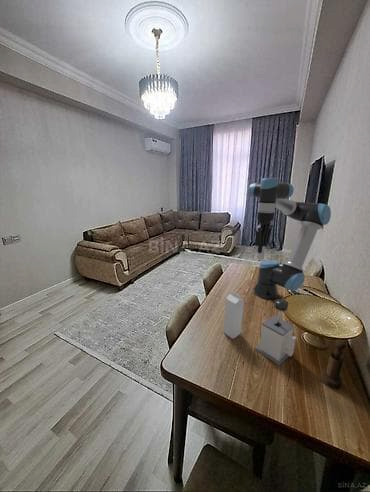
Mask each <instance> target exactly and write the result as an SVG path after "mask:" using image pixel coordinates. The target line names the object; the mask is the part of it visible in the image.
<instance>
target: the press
mask: <svg viewBox="0 0 370 492" xmlns="http://www.w3.org/2000/svg"><path fill="white" fill-rule="evenodd" d="M277 319H278V316H275V315H271V317H269V318H268V319H266V320H265V321H264V322H262V323H261V324H262V325H261V332H260V339H259V345H258V346H256V347H255V351H257V352H258V353H260V354H261V355H263V356H264V357H266V358H267V359H269V360H270V361H271V362H273V363H274V364H276V365H278V366H279V367H280V366H281V365H282V364H283V363H284V362H285V361H286V360H287V359H288V358H289V357H293V355H294V351H295V345H296V342H297V337H296V336H295V335H293V331H294V325H293V324H291V323H289V322H287V321H285V320H283V319H281V318H280V324H279V327H277V326H275V325H277Z"/></svg>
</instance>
